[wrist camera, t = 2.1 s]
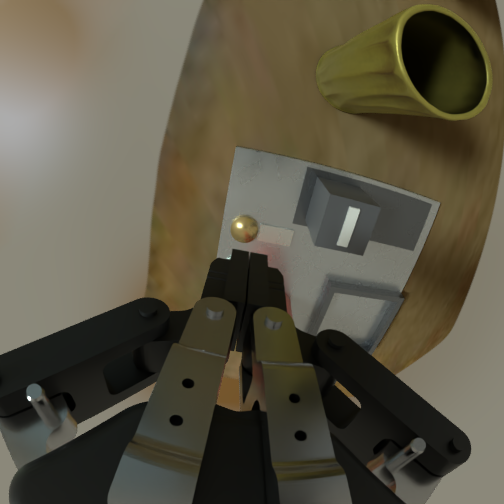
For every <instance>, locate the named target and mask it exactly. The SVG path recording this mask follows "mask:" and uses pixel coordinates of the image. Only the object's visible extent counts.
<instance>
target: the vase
mask: <svg viewBox="0 0 504 504" xmlns="http://www.w3.org/2000/svg"><path fill="white" fill-rule="evenodd" d="M316 81H317V85H318V88H319V90H320V92H321V94H322V96H323V97H324V98H325V99H326V100H327V101H328V102H329V103H330V104H331V105H332V106H333V107H335V108H337V109H339V110H341V111H343V112H347V113H352V114H358V113H387V114H403V115H415V116H424V117H433V118H440V119H445V120H448V121H457V120H466V119H470V118H473V117H474V116H476V115H477V114H479V113H480V112H481V111H482V110H483V109H484V108H485V106H486V104H487V102H488V99H489V96H490V93H491V89H492V70H491V64H490V60H489V57H488V55H487V52H486V50H485V48H484V46H483V44H482V42H481V40H480V38H479V37H478V36H477V34H476V33H475V31H474V30H473V29H472V28H471V27H470V26H469V25H468V24H467V23H466V22H465V21H464V20H463V19H462V18H460V17H459V16H458V15H456V14H455V13H453V12H452V11H450V10H448V9H446V8H443V7H441V6H437V5H431V4H420V5H416V6H413V7H410V8H408V9H405V10H403V11H401V12H399V13H397V14H395V15H394V16H392V17H390V18H389V19H387V20H385V21H383V22H381V23H380V24H378V25H375V26H373V27H372V28H370V29H368V30H366V31H364V32H362V33H361V34H359V35H357V36H355V37H354V38H352V39H351V40H349V41H348V42H347V43H346V44H344V45H340V46H337V47H334V48H332V49H330V50H329V51H327V52H326V53H325V54H324V55H323V56H322V57H321V59H320V60H319V62H318V65H317V69H316Z"/></svg>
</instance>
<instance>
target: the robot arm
mask: <svg viewBox="0 0 504 504" xmlns="http://www.w3.org/2000/svg"><path fill="white" fill-rule="evenodd" d="M236 340H237V344H236ZM235 345H236V351H237V352H242V360H241V364H240V367H239V383H240V384H239V385H240V411H239V412H238V411H233V410H230V409H227V408H225V407H222V406H219V405H217V404H216V403H217V399H218V395H219V390H220V386H221V382H222V377H223V373H224V369H225V364H226V363H227V361H228V359H229V354H230V350H231V351H234V349H235ZM156 381H157V382H156ZM336 381H338V382H339V383H340V384H341V385H342V386H343V387H345V388H346V389H347V390H348V391H349V392H350V393H351V394H352V395H353V396H354V397H356V398H357V399H358V400H359V402H360V404H361V408H359V407H358V406H357V405H356V404H355V403H354V402H352V401H351V400H350V399H349V398H348V397H347V396H346V395H345V394H344V393H343V392H342V391H341V390H339V389H338V388H337V387H336V386H335V385H334V384H335V383H336ZM154 382H156V384H155V386H154V389H153V391H152V394H151V396H150V398H149V401H148V402H142V403H139V404H136V405H133V406H131V407H129V408H127V409H125V410H123V411H122V412H120V413H118V414H116V415H115V416H113V417H111V418H110V419H108V420H107V421H105V422H103V423H101V424H100V425H98V426H96V427H94V428H93V429H91V430H89V431H87V432H86V433H84V434H82V435H80V436H78V437H77V438H75V439H74V437H75V436H76V433H77V424H79V423H81V422H83V421H85V420H87V419H89V418H91V417H93V416H95V415H97V414H99V413H100V412H102V411H104V410H106V409H108V408H110V407H112V406H114V405H115V404H117V403H119V402H121V401H123V400H125V399H126V398H128V397H130V396H132V395H133V394H135V393H137V392H139V391H141V390H143V389H144V388H146V387H148V386H150V385H151V384H153V383H154ZM0 431H1V433H2V436H3V438H4V440H5V443H6V445H7V447H8V450H9V452H10V454H11V457H12V459H13V461H14V463H15V465H16V467H17V469H18V471H17V473H16V474H15V476H14V477H13V480H12V482H11V485H10V489H9V502H10V504H425V503H426V501H427V500H428V499H429V497H430V496H431V494H432V493H433V491H434V490H435V488H436V486H437V485H438V483H439V482H440V480H441V478H442V477H443V476H445V475H446V474H448V473H450V472H451V471H453V470H454V469H456V468H457V467H458V466H460V465H461V464H463V463H464V462H466V461H467V459H468V458H469V456H470V454H471V445H470V441H469V439H468V437H467V436H466V434H465V433H464V432H463V431H461V430H460V429H459V428H458V427H457V426H455V425H454V424H453V423H452V422H451V421H449V420H448V419H447V418H446V417H445V416H443V415H442V414H441V413H440V412H439V411H437V410H436V409H435V408H433V407H432V406H431V405H430V404H429V403H428V402H427V401H425V400H424V399H423V398H422V397H420V396H419V395H418V394H417V393H415V392H414V391H413V390H412V389H411V388H410V387H409V386H407V385H406V384H405V383H404V382H402V381H401V380H400V379H399V378H398V377H396V376H395V375H394V374H393V373H392V372H390V371H389V370H388V369H387V368H386V367H385V366H383V365H382V364H381V363H380V362H379V361H377V360H376V359H375V358H374V357H373V356H371V355H370V354H369V353H368V352H367V351H365V350H364V349H363V348H362V347H361V346H359V345H358V344H357V343H356V342H355V341H353V340H352V339H351V338H350V337H349V336H347V335H346V334H344V333H343V332H340V331H338V330H333V329H326V330H323V331H321V332H319V333H318V335H317V336H314V335H311V334H308V333H306V332H303V331H301V330H299V329H298V328H296V327H295V324H294V321H293V319H292V317H291V316H290V315H289V314H288V313H287V305H286V296H285V287H284V278H283V275H282V274H281V272H280V271H279V270H278V268H272V267H268V255H265V254H260V253H254V252H250V255H249V251H243V250H238V249H233V248H232V254H231V259H230V260H229V259H223V258H217V259H215V260H214V261H213V262H212V263H211V265H210V269H209V272H208V275H207V279H206V282H205V286H204V289H203V293H202V296H201V299H200V300H199V301H197V302H196V304H195V305H194V308H191V309H189V310H185V311H170V310H169V307H168V306H167V305H166V304H165V303H164V302H162V301H161V300H158V299H155V298H140V299H137V300H134V301H132V302H129V303H127V304H124V305H122V306H120V307H117V308H115V309H112V310H110V311H108V312H105V313H103V314H100V315H97V316H95V317H93V318H90V319H88V320H85V321H83V322H80V323H78V324H76V325H73V326H70V327H68V328H66V329H63V330H61V331H58V332H56V333H53V334H51V335H49V336H46V337H44V338H41V339H39V340H36V341H34V342H31V343H29V344H26V345H24V346H21V347H19V348H17V349H14V350H12V351H9V352H7V353H4V354H2V355H0Z"/></svg>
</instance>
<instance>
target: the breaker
mask: <svg viewBox="0 0 504 504" xmlns="http://www.w3.org/2000/svg"><path fill="white" fill-rule="evenodd" d="M380 209H381V207H380V206H379V205H378V204H377V203H376V202H375V201H374V200H373V199H372V198H371V197H370V196H368V195H367V194H366V193H365V192H364V191H363V190H362V189H361V188H359V187H355V186H352V185H348V184H344V183H341V182H337V181H333V180H329V179H325V178H321V177H317V179H316V183H315V186H314V190H313V194H312V197H311V201H310V204H309V208H308V211H307V215H306V219H305V221H306V224H307V226H308V229H309V232H310V235H311V238H312V241H313V244H314V246H317V247H322V248H327V249H332V250H337V251H342V252H347V253H351V254H356V255H361V256H363V255H364V252H365V250H366V247H367V245H368V242H369V239H370V237H371V234H372V231H373V229H374V226H375V223H376V221H377V218H378V215H379V212H380Z"/></svg>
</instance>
